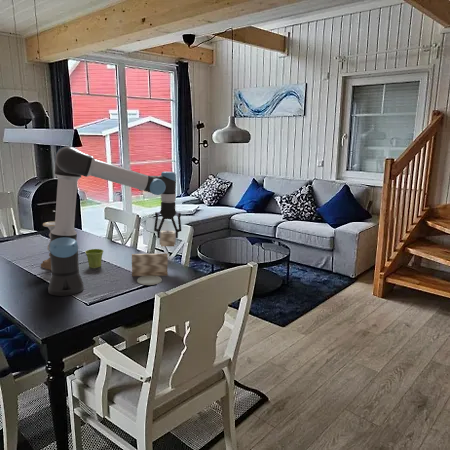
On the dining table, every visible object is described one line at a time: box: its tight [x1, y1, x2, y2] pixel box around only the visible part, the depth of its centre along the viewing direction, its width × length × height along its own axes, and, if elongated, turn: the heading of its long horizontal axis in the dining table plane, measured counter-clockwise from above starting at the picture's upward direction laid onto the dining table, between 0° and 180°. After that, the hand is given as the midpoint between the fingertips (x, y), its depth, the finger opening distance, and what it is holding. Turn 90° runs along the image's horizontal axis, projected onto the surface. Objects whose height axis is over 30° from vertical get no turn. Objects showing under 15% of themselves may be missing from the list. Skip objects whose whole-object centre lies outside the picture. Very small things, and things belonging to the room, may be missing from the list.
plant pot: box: [84, 248, 104, 269], centre depth 215 cm, size 9×9×9 cm
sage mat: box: [136, 275, 163, 286], centre depth 198 cm, size 12×12×1 cm
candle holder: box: [40, 220, 55, 271], centre depth 212 cm, size 11×11×24 cm
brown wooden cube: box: [160, 229, 175, 247], centre depth 212 cm, size 7×7×7 cm
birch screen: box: [131, 253, 169, 277], centre depth 205 cm, size 18×4×11 cm, turn 99°
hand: (167, 243), depth 212 cm, fingers closed on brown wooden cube, 7 cm apart
